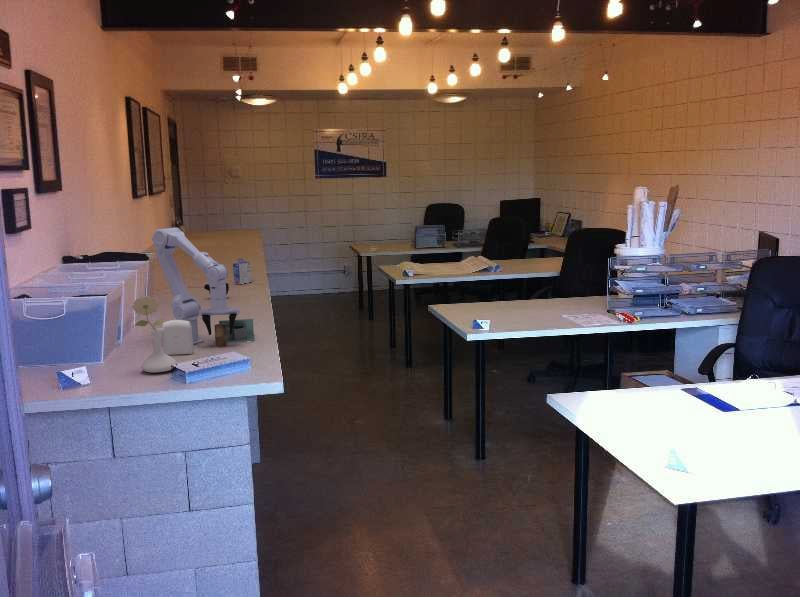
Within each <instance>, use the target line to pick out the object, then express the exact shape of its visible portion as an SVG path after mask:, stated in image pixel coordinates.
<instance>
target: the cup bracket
mask: <svg viewBox="0 0 800 597" xmlns="http://www.w3.org/2000/svg"><path fill="white" fill-rule="evenodd" d="M218 324H225V325H226V343H227V344H236V343H237V344H238V342H239V343H248V342H247V341H255V340H256V337H255V332H254V331H255V330H254V319H253V318H245V319H244V318H242V319H241V318H240V319H235V322H234V325H233V331H232V334H230V322H229V319H226V320H218ZM255 342H256V341H255Z"/></svg>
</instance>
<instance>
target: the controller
mask: <svg viewBox="0 0 800 597" xmlns="http://www.w3.org/2000/svg"><path fill="white" fill-rule="evenodd" d="M229 285H230V284H229V283H228V282H226V297H227V295H228V293H229V290H230V286H229ZM203 288H204V290H207V291H208V293H209V294H210V286H209V283H208V284H207V283H206V284H204V287H203Z"/></svg>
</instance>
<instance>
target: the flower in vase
mask: <svg viewBox="0 0 800 597" xmlns="http://www.w3.org/2000/svg"><path fill="white" fill-rule="evenodd" d="M159 306H160V305H159V303H158V301H157V299H156V298H155V297H151V296H150V295H148V296H147V295H144V296H140V297H139V298H136V299H134V302H133V303H132V305H131V307H132V309H133V311H134V312H135V313H136V314H138V315H142V316H146V320H144V319H141V320H139V321H137V322H136V323H135V326H139V327H146V326H147V325H148V324H149V325H150V326H151V327H152V328H150V329H148V332H150V335H151V336H152V338H153V347H154V348H153V349H154V350H153V352H152V354H151V355H150V356H149V357H148V358H145V360H144V361H143V362H142V364H141V365H140V368H141V370H142V371H144V372H147V373H163V372H169V371H172V370H171V365H174V364H177V365H178V362H177V361H176V360H175V359H174V358H173V357H171V355H167V354H165V353H164V349H162V348H163V347H162V339H163V335H162V333H163V331H164V330H165V329H164V328H162V327H156V326H159V325H160V324H163V321H164V319H165V318H164V317H163V318H162V319H159V320H156V321H155V322H154V324H152V323H151V322H150V320H149V317H148V316H149V315H152V314H153V313H156V312H157V310H158V308H159Z"/></svg>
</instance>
